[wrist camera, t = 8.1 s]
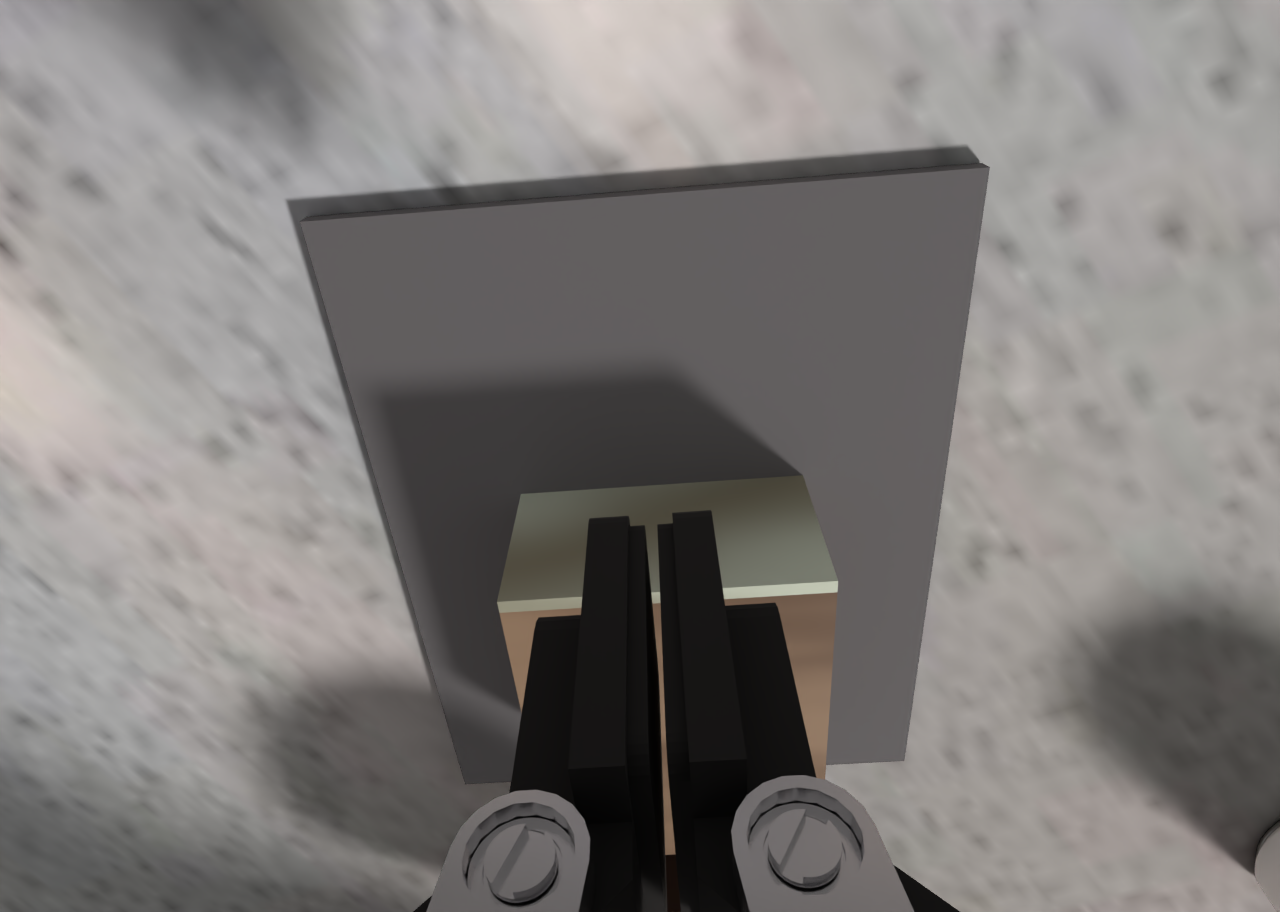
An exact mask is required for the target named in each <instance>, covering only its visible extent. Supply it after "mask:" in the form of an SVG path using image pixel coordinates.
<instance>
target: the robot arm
mask: <svg viewBox="0 0 1280 912" xmlns="http://www.w3.org/2000/svg"><path fill="white" fill-rule="evenodd" d="M672 518H673V523H669V524H657V531H658V556H659V581H660V605H661V630H662V654H663V679H664V704H665V728H666V749H667V765H668V778H669V789H670V800H671V811H672V821H673V832H674V843H675V853H676V864H677V875H678V886H679V896H680V907H681V912H959V911H958V910H957V909H955V908H954V907H952V906H951V905H950V904H948V903H947V902H945V901H944V900H942V899H941V898H940V897H938V896H937V895H935V894H934V893H933V892H931V891H930V890H928V889H927V888H925V887H924V886H923V885H921V884H920V883H918V882H917V881H916V880H914V879H913V878H911V877H910V876H909V875H907V874H906V873H904V872H903V871H901V870H900V869H899V868H897V867H896V866H894V865H893V863H892V861H891V859H890V856H889V854H888V852H887V850H886V848H885V845H884V843H883V841H882V839H881V836H880V834H879V832H878V830H877V828H876V825H875V823H874V822H873V820H872V819H871V817H870V816H869V814H868V813H867V811H866V809H865V808H864V806H863V805H862V804H861V803H860V802H859V801H857V800H856V799H855V798H854V797H853V796H852V795H851V794H850V793H848V792H847V791H846V790H845V789H843V788H841V787H839V786H837V785H835V784H833V783H831V782H829V781H827V780H824V779H820V778H816V774H815V769H814V765H813V760H812V756H811V751H810V747H809V743H808V738H807V734H806V729H805V725H804V720H803V716H802V711H801V707H800V702H799V698H798V694H797V689H796V685H795V680H794V676H793V671H792V667H791V662H790V658H789V653H788V649H787V645H786V640H785V636H784V631H783V627H782V622H781V618H780V614H779V610H778V606H777V605H776V603H760V604H744V605H729V606H725V601H724V594H723V587H722V580H721V573H720V566H719V559H718V552H717V545H716V538H715V531H714V524H713V517H712V511H711V510H705V511H690V512H676V513H672ZM413 912H667V887H666V858H665V829H664V800H663V772H662V743H661V714H660V686H659V670H658V658H657V648H656V637H655V626H654V615H653V605H652V594H651V583H650V573H649V562H648V551H647V540H646V530H645V525H639V526H630V519H629V516H616V517H601V518H590V519H589V523H588V534H587V546H586V558H585V570H584V582H583V594H582V607H581V615H570V616H554V617H538V619H537V621H536V624H535V629H534V635H533V641H532V648H531V654H530V661H529V668H528V674H527V681H526V687H525V694H524V701H523V707H522V714H521V720H520V727H519V734H518V740H517V747H516V753H515V760H514V767H513V773H512V780H511V786H510V793H508V794H506V795H503V796H500V797H497V798H494V799H493V800H491V801H490V802H488V803H487V804H485V805H484V806H482V807H480V808H479V809H477V810H476V811H475V812H474V813H473V814H472V815H471V816H470V817H469V819H468V820H467V821H466V822H465V823H464V824H463V825H462V826H461V827H460V829H459V831H458V833H457V835H456V837H455V839H454V840H453V842H452V844H451V846H450V849H449V851H448V854H447V857H446V859H445V862H444V865H443V868H442V870H441V873H440V876H439V879H438V881H437V884H436V887H435V890H434V892H433V895H432V896H431V897H430V898H428V899H427V900H426V901H425V902H424V903H423V904H422V905H420V906H419V907H418V908H417V909H416V910H415V911H413Z"/></svg>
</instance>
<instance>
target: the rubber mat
mask: <svg viewBox="0 0 1280 912" xmlns="http://www.w3.org/2000/svg"><path fill="white" fill-rule="evenodd" d="M989 168H990V167H988V166H986V165H985V164H983V163H979V164H966V165H954V166H941V167H929V168H916V169H903V170H891V171H878V172H866V173H853V174H840V175H828V176H815V177H803V178H790V179H777V180H765V181H752V182H740V183H727V184H714V185H702V186H689V187H677V188H664V189H651V190H639V191H626V192H614V193H601V194H588V195H576V196H563V197H551V198H538V199H525V200H513V201H500V202H488V203H475V204H462V205H450V206H437V207H425V208H412V209H399V210H387V211H374V212H362V213H349V214H336V215H324V216H311V217H306V218H304V219H303V220H302V221H300V224H301V228H302V231H303V234H304V238H305V241H306V245H307V248H308V251H309V255H310V258H311V262H312V265H313V268H314V272H315V275H316V279H317V282H318V285H319V289H320V292H321V296H322V299H323V302H324V306H325V309H326V312H327V316H328V319H329V323H330V326H331V329H332V333H333V336H334V340H335V343H336V346H337V350H338V353H339V357H340V360H341V363H342V367H343V370H344V374H345V377H346V380H347V384H348V387H349V391H350V394H351V397H352V401H353V404H354V408H355V411H356V414H357V418H358V421H359V425H360V428H361V431H362V435H363V438H364V442H365V445H366V448H367V452H368V455H369V459H370V462H371V465H372V469H373V472H374V476H375V479H376V482H377V486H378V489H379V493H380V496H381V499H382V503H383V506H384V510H385V513H386V516H387V520H388V523H389V527H390V530H391V533H392V537H393V540H394V544H395V547H396V550H397V554H398V557H399V561H400V564H401V567H402V571H403V574H404V578H405V581H406V584H407V588H408V591H409V595H410V598H411V601H412V605H413V608H414V612H415V615H416V618H417V622H418V625H419V629H420V632H421V635H422V639H423V642H424V646H425V649H426V652H427V656H428V659H429V663H430V666H431V669H432V673H433V676H434V680H435V683H436V686H437V690H438V693H439V697H440V700H441V703H442V707H443V710H444V714H445V717H446V720H447V724H448V727H449V731H450V734H451V737H452V741H453V744H454V748H455V751H456V754H457V758H458V761H459V765H460V768H461V771H462V775H463V778H464V782H465V784H476V783H495V782H511V780H512V773H513V767H514V760H515V753H516V747H517V740H518V734H519V727H520V720H521V714H522V713H521V708H520V704H519V699H518V695H517V690H516V686H515V681H514V677H513V672H512V668H511V663H510V659H509V654H508V650H507V645H506V640H505V636H504V631H503V627H502V622H501V618H500V613H499V609H498V604H497V599H498V595H499V590H500V586H501V581H502V577H503V572H504V568H505V563H506V559H507V554H508V550H509V545H510V541H511V536H512V532H513V527H514V523H515V518H516V514H517V509H518V505H519V500H520V496H521V494H528V493H543V492H558V491H574V490H589V489H604V488H619V487H634V486H649V485H664V484H680V483H695V482H710V481H725V480H740V479H755V478H770V477H785V476H801V475H803V477H804V480H805V483H806V486H807V489H808V492H809V495H810V498H811V501H812V504H813V507H814V510H815V513H816V516H817V519H818V522H819V525H820V528H821V531H822V534H823V537H824V540H825V543H826V546H827V549H828V552H829V555H830V558H831V561H832V564H833V567H834V570H835V573H836V576H837V579H838V592H837V607H836V621H835V636H834V651H833V666H832V681H831V696H830V711H829V726H828V740H827V755H826V765H834V764H853V763H872V762H891V761H904V759H905V752H906V745H907V738H908V731H909V724H910V717H911V710H912V703H913V696H914V689H915V682H916V675H917V669H918V662H919V655H920V648H921V641H922V634H923V627H924V620H925V613H926V606H927V599H928V592H929V585H930V578H931V571H932V564H933V557H934V550H935V544H936V537H937V530H938V523H939V516H940V509H941V502H942V495H943V488H944V481H945V474H946V467H947V460H948V453H949V446H950V439H951V432H952V425H953V419H954V412H955V405H956V398H957V391H958V384H959V377H960V370H961V363H962V356H963V349H964V342H965V335H966V328H967V321H968V314H969V307H970V300H971V293H972V287H973V280H974V273H975V266H976V259H977V252H978V245H979V238H980V231H981V224H982V217H983V210H984V203H985V196H986V189H987V182H988V175H989Z"/></svg>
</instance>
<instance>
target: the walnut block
mask: <svg viewBox="0 0 1280 912" xmlns="http://www.w3.org/2000/svg"><path fill="white" fill-rule="evenodd" d="M705 510H711V511H712V517H713V524H714V531H715V538H716V545H717V552H718V559H719V566H720V573H721V580H722V587H723V594H724V601H725V606H729V605H744V604H760V603H776V605H777V606H778V610H779V614H780V618H781V622H782V627H783V631H784V636H785V640H786V645H787V649H788V653H789V658H790V662H791V667H792V671H793V676H794V680H795V685H796V689H797V694H798V698H799V702H800V707H801V711H802V716H803V720H804V725H805V729H806V734H807V738H808V743H809V747H810V751H811V756H812V760H813V765H814V769H815V774H816V778H820V779H824V780H825V770H826V755H827V740H828V726H829V711H830V696H831V681H832V666H833V651H834V636H835V621H836V607H837V592H838V579H837V576H836V573H835V570H834V567H833V564H832V561H831V558H830V555H829V552H828V549H827V546H826V543H825V540H824V537H823V534H822V531H821V528H820V525H819V522H818V519H817V516H816V513H815V510H814V507H813V504H812V501H811V498H810V495H809V492H808V489H807V486H806V483H805V480H804V477H803V475H801V476H785V477H770V478H755V479H740V480H725V481H710V482H695V483H680V484H664V485H649V486H634V487H619V488H604V489H589V490H574V491H558V492H543V493H528V494H521V496H520V500H519V505H518V509H517V514H516V518H515V523H514V527H513V532H512V536H511V541H510V545H509V550H508V554H507V559H506V563H505V568H504V572H503V577H502V581H501V586H500V590H499V595H498V599H497V604H498V609H499V613H500V618H501V622H502V627H503V631H504V636H505V640H506V645H507V650H508V654H509V659H510V663H511V668H512V672H513V677H514V681H515V686H516V690H517V695H518V699H519V704H520V708H521V713H522V707H523V701H524V694H525V687H526V681H527V674H528V668H529V661H530V654H531V648H532V641H533V635H534V629H535V624H536V621H537V619H538V617H554V616H570V615H581V607H582V594H583V582H584V570H585V558H586V546H587V534H588V523H589V519H590V518H601V517H616V516H629V519H630V526H639V525H645V530H646V540H647V551H648V562H649V573H650V583H651V594H652V605H653V615H654V626H655V637H656V648H657V658H658V670H659V686H660V714H661V743H662V772H663V800H664V829H665V855H674V854H676V853H675V843H674V832H673V821H672V811H671V800H670V789H669V778H668V765H667V749H666V728H665V704H664V679H663V654H662V630H661V605H660V581H659V556H658V531H657V524H669V523H673V518H672V513H676V512H690V511H705Z"/></svg>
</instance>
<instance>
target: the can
mask: <svg viewBox="0 0 1280 912" xmlns="http://www.w3.org/2000/svg"><path fill="white" fill-rule="evenodd" d="M1255 877H1256V880H1257V882H1258V884H1259V885H1260V887H1261V889H1262V890H1263V892H1264V893H1265V895H1266V896H1267V898H1268V899H1269V901H1270V902H1271V904H1272V905H1273V907H1274V908H1275V910H1276V911H1277V912H1280V821H1279V822H1277V823H1276V824H1275V825H1274V826H1273V827H1271V828H1270V829H1269V830H1268V831H1267V832H1266V833H1265V835H1264V836H1263V837H1262V839H1261V841H1260V842H1259V845H1258V848H1257V852H1256V862H1255Z"/></svg>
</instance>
